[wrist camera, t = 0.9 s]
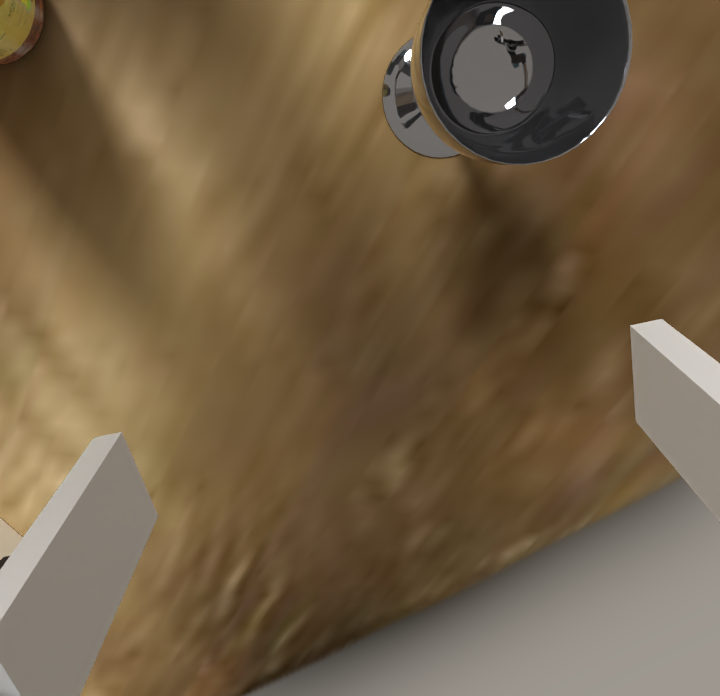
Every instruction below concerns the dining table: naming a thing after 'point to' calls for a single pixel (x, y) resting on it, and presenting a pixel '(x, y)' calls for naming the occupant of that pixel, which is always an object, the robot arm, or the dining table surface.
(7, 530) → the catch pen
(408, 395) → the dining table surface
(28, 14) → the sauce bottle
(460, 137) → the wine glass
